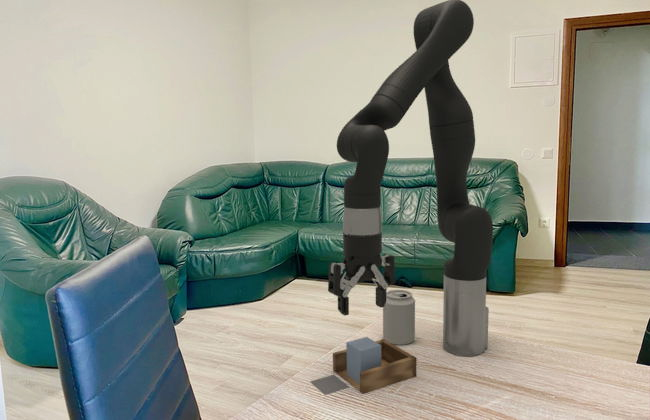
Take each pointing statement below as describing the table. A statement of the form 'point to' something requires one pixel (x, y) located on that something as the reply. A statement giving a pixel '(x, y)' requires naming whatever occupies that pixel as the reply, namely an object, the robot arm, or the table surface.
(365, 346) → the block
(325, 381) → the coaster
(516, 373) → the table surface
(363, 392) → the crate
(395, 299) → the can
